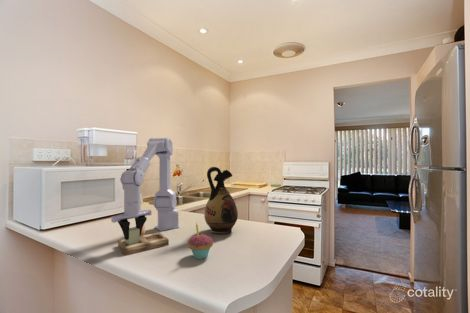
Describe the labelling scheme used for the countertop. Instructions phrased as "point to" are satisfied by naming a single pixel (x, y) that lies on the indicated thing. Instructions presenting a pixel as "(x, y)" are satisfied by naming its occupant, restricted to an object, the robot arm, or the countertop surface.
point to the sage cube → (133, 236)
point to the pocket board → (144, 243)
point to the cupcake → (200, 245)
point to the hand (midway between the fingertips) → (132, 237)
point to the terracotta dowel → (142, 230)
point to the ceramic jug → (220, 204)
